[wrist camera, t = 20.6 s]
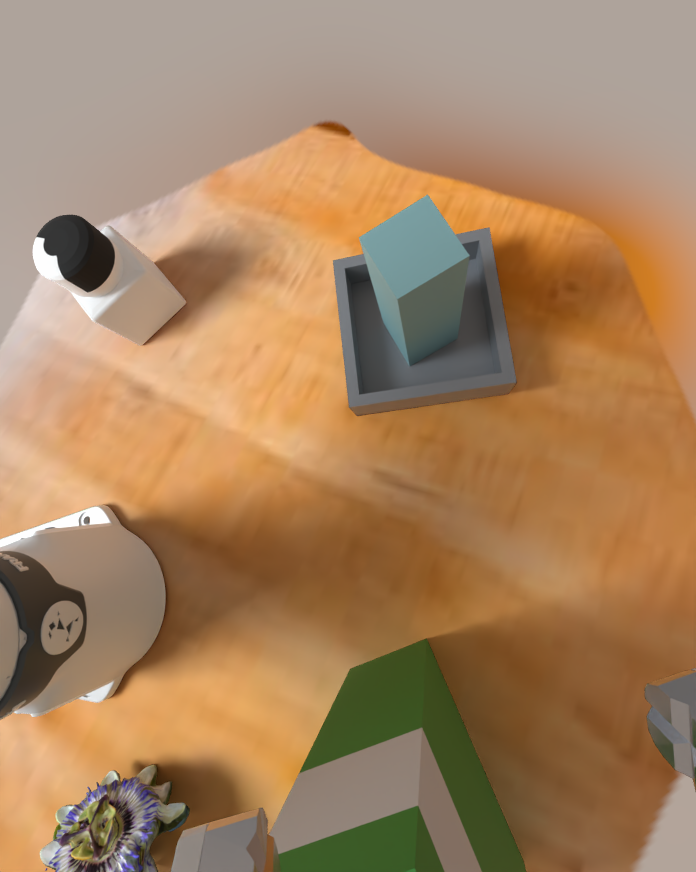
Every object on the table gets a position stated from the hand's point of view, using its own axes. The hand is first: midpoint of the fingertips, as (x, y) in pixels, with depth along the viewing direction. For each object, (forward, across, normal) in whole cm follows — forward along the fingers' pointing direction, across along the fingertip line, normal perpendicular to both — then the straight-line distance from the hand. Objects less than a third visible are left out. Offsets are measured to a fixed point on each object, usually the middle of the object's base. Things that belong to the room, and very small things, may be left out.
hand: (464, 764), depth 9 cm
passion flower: (+28, +25, +30) cm, 48 cm away
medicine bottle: (+46, +15, -17) cm, 51 cm away
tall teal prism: (+34, -11, -8) cm, 36 cm away
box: (+34, -11, -7) cm, 37 cm away
